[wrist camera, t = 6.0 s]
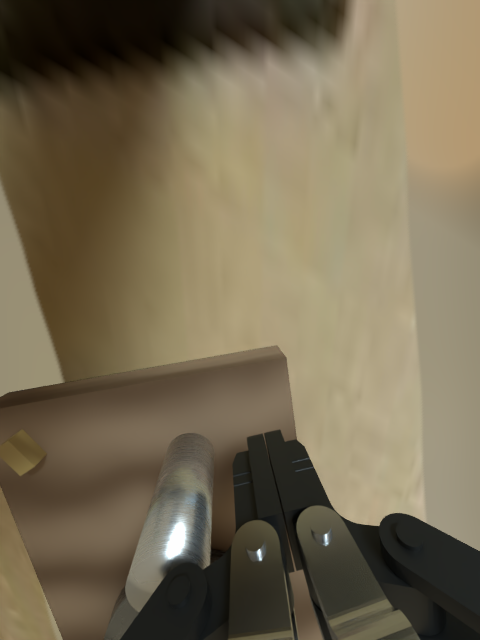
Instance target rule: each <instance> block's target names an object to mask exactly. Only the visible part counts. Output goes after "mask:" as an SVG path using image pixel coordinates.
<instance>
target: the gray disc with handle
mask: <svg viewBox="0 0 480 640" xmlns="http://www.w3.org/2000/svg"><path fill="white" fill-rule="evenodd" d="M213 476H214V448H213V445H212V444H211V442H210V441H209V440H208V439H207V438H206V437H204V436H202V435H200V434H197V433H185V434H182V435H179V436H177V437H176V438H174V439H173V440H172V441H171V443H170V444H169V446H168V448H167V451H166V454H165V458H164V461H163V464H162V467H161V471H160V474H159V477H158V480H157V484H156V487H155V490H154V493H153V496H152V500H151V503H150V506H149V509H148V513H147V516H146V519H145V522H144V526H143V529H142V532H141V535H140V539H139V542H138V545H137V548H136V552H135V555H134V558H133V561H132V565H131V568H130V571H129V574H128V577H127V581H126V585H125V587H124V588H123V590H122V591H121V592H120V594H119V596H118V598H117V600H116V603H115V606H114V609H113V612H112V615H111V618H110V621H109V624H108V627H107V630H106V633H105V637H104V640H120V639H121V637H122V636H123V635H124V633H125V632H126V630H127V629H128V628H129V626H130V625H131V623H132V622H133V621H134V619H135V618H136V616H137V615H138V614H139V612H140V611H141V609H142V608H143V607H144V605H145V604H146V602H147V601H148V600H149V598H150V597H151V595H152V594H153V592H154V591H155V590H156V588H157V587H158V585H159V584H160V583H161V581H162V580H163V579H164V577H165V576H166V575H167V574H168V573H169V572H170V571H171V570H172V569H173V568H175V567H176V566H178V565H180V564H183V563H195V564H197V565H198V566H200V567H201V568H202V570H203V569H204V568H206V567H207V566H209V565H210V564H212V563H213V562H215V561H216V560H218V559H219V558H220V557H222V556H223V555H224V554H225V553H226V552H224V551H217V550H211V526H212V501H213Z"/></svg>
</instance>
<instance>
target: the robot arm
mask: <svg viewBox="0 0 480 640" xmlns="http://www.w3.org/2000/svg"><path fill="white" fill-rule="evenodd" d="M264 437H265V440H264ZM265 441H266V444H265ZM247 445H248V450H247V451H243V452H239V453H237V454H236V456H235V458H234V461H233V463H232V467H233V485H234V504H235V522H236V531H235V536H234V538H233V541H232V544H231V546H230V547H229V549H228V550H227V551H226V553H225V554H224V555H223V556H222V557H220V558H219V559H218V560H216V561H215V562H213V563H212V564H210V565H209V566H207V567H206V568H204V569H203V570H202V568H201V567H200V566H198V565H197V564H195V563H183V564H180V565H178V566H176V567H175V568H173V569H172V570H171V571H170V572H169V573H168V574H167V575H166V576H165V577H164V579H163V580H162V581H161V583H160V584H159V585H158V587H157V588H156V590H155V591H154V592H153V594H152V595H151V597H150V598H149V600H148V601H147V602H146V604H145V605H144V607H143V608H142V609H141V611H140V612H139V614H138V615H137V616H136V618H135V619H134V621H133V622H132V623H131V625H130V626H129V628H128V629H127V630H126V632H125V633H124V635H123V636H122V637H121V639H120V640H299V636H298V629H297V623H296V616H295V610H294V595H293V590H292V585H291V581H290V576H289V573H292V572H295V570H294V566H293V561H292V556H291V551H292V555H293V559H294V563H295V567H296V571H299V570H303V571H304V575H305V579H306V583H307V586H308V590H309V595H310V600H311V604H312V608H313V611H314V614H315V617H316V620H317V623H318V626H319V629H320V632H321V635H322V638H323V640H480V551H478V550H476V549H474V548H472V547H470V546H468V545H467V544H465V543H463V542H461V541H459V540H457V539H455V538H453V537H451V536H450V535H447V534H446V533H444V532H442V531H440V530H438V529H436V528H434V527H432V526H430V525H429V524H427V523H425V522H423V521H421V520H419V519H417V518H415V517H413V516H410V515H407V514H402V513H394V514H390V515H388V516H386V517H385V518H383V519H382V521H381V523H380V526H371V525H362V524H357V523H353V522H351V521H349V520H347V519H345V518H343V517H342V516H341V515H339V514H338V513H337V512H336V511H335V510H334V508H333V507H332V505H331V503H330V501H329V499H328V497H327V495H326V493H325V490H324V488H323V486H322V484H321V482H320V479H319V477H318V475H317V473H316V471H315V469H314V467H313V464H312V462H311V460H310V458H309V456H308V453H307V451H306V449H305V447H304V446H303V445H302V444H301V443H299V442H298V441H297V440H296V439H294V440H290V441H286V442H285V441H284V438H283V435H282V433H281V430H280V429H279V430H274V431H270V432H266V433H264V436H263V433H262V434H258V435H253V436H249V437H247ZM266 446H267V448H266ZM267 451H268V452H267ZM268 455H269V457H268ZM269 460H270V461H269ZM285 527H286V528H285ZM286 531H287V532H286ZM287 535H288V537H287ZM288 539H289V542H288ZM289 543H290V547H291V551H290V547H289Z"/></svg>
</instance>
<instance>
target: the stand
mask: <svg viewBox="0 0 480 640" xmlns="http://www.w3.org/2000/svg"><path fill="white" fill-rule="evenodd" d="M279 429H280V430H281V433H282V435H283V438H284V441H285V442H286V441H290V440H294V439H296V440H297V437H296V429H295V422H294V414H293V406H292V398H291V391H290V383H289V375H288V367H287V360H286V357H285V355H284V354H283V353H282V351H281V350H280V349H279V347H278V346H271V347H266V348H260V349H254V350H248V351H243V352H237V353H231V354H226V355H220V356H214V357H209V358H203V359H197V360H191V361H186V362H180V363H174V364H169V365H163V366H157V367H152V368H146V369H140V370H134V371H129V372H123V373H117V374H112V375H106V376H100V377H95V378H89V379H83V380H78V381H72V382H66V383H60V384H55V385H49V386H43V387H38V388H32V389H27V390H21V391H15V392H9V393H7V394H5V395H4V396H2V397H0V486H1V488H2V491H3V493H4V495H5V498H6V500H7V503H8V505H9V508H10V510H11V513H12V515H13V518H14V520H15V523H16V525H17V527H18V530H19V532H20V535H21V537H22V540H23V542H24V545H25V547H26V550H27V552H28V554H29V557H30V559H31V562H32V564H33V567H34V569H35V572H36V574H37V577H38V579H39V582H40V584H41V586H42V589H43V591H44V594H45V596H46V599H47V601H48V604H49V606H50V609H51V611H52V613H53V616H54V618H55V621H56V623H57V626H58V628H59V631H60V633H61V636H62V638H63V640H104V637H105V633H106V630H107V627H108V624H109V621H110V618H111V615H112V612H113V609H114V606H115V603H116V600H117V598H118V596H119V594H120V592H121V591H122V590H123V588H124V587H125V585H126V581H127V577H128V574H129V571H130V568H131V565H132V561H133V558H134V555H135V552H136V548H137V545H138V542H139V539H140V535H141V532H142V529H143V526H144V522H145V519H146V516H147V513H148V509H149V506H150V503H151V500H152V496H153V493H154V490H155V487H156V484H157V480H158V477H159V474H160V471H161V467H162V464H163V461H164V458H165V454H166V451H167V448H168V446H169V444H170V443H171V441H172V440H173V439H174V438H176V437H177V436H179V435H182V434H185V433H197V434H200V435H202V436H204V437H206V438H207V439H208V440H209V441H210V442H211V444H212V445H213V448H214V476H213V501H212V526H211V550H217V551H224V552H226V551H227V550H228V549H229V547H230V546H231V544H232V541H233V538H234V536H235V531H236V522H235V504H234V485H233V467H232V463H233V461H234V458H235V456H236V454H237V453H239V452H243V451H247V450H248V445H247V437H249V436H253V435H258V434H262V433H263V436H264V433H266V432H270V431H274V430H279ZM264 440H265V437H264ZM265 444H266V441H265ZM266 448H267V446H266ZM267 452H268V451H267ZM268 457H269V455H268ZM269 461H270V460H269ZM285 528H286V527H285ZM286 532H287V531H286ZM287 537H288V535H287ZM288 542H289V539H288ZM289 547H290V543H289ZM290 551H291V547H290ZM291 556H292V561H293V566H294V570H295V572H292V573H289V576H290V581H291V585H292V590H293V595H294V610H295V616H296V623H297V629H298V636H299V640H323V638H322V635H321V632H320V629H319V626H318V623H317V620H316V617H315V614H314V611H313V608H312V604H311V600H310V595H309V590H308V586H307V583H306V579H305V575H304V571H303V570H299V571H296V567H295V563H294V559H293V555H292V551H291Z"/></svg>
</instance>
